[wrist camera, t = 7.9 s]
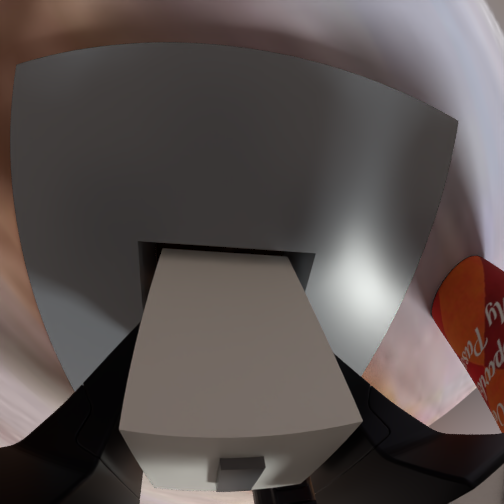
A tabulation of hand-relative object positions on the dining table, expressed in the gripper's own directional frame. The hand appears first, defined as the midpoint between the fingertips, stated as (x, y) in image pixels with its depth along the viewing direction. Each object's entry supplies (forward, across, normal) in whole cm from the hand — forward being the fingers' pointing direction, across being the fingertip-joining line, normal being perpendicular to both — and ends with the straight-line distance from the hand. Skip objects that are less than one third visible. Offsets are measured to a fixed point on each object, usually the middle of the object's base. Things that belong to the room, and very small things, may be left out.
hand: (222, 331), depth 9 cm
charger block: (+1, 0, 0) cm, 1 cm away
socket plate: (+4, 0, 0) cm, 4 cm away
